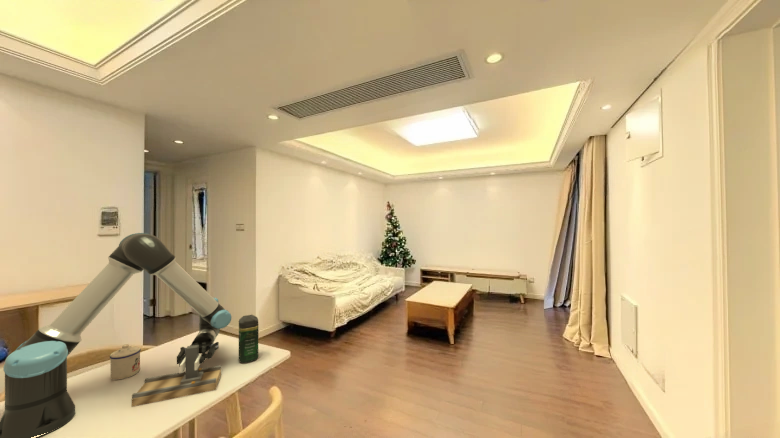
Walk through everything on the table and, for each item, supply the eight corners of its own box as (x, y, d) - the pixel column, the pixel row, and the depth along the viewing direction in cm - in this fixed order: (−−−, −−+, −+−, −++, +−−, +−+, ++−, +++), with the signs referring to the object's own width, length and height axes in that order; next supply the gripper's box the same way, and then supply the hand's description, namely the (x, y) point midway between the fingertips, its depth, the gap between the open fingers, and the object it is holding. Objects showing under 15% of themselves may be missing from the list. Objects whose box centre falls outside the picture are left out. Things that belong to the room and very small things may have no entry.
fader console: (131, 406, 93) (131, 394, 93) (145, 388, 103) (145, 377, 103) (215, 389, 102) (215, 378, 102) (221, 374, 112) (221, 364, 112)
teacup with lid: (138, 375, 111) (138, 346, 111) (106, 383, 106) (106, 352, 106) (143, 363, 121) (143, 336, 121) (114, 369, 116) (114, 341, 116)
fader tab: (180, 384, 100) (180, 351, 100) (184, 377, 105) (184, 345, 105) (200, 381, 103) (200, 348, 103) (203, 374, 107) (203, 342, 107)
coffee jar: (259, 360, 123) (259, 318, 123) (239, 365, 119) (239, 321, 119) (256, 351, 131) (256, 312, 131) (237, 356, 127) (237, 315, 127)
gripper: (226, 346, 124) (215, 373, 102) (180, 353, 118) (159, 383, 96) (226, 329, 124) (215, 352, 102) (180, 335, 118) (159, 361, 96)
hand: (188, 367), depth 99 cm, fingers closed on fader tab, 4 cm apart
